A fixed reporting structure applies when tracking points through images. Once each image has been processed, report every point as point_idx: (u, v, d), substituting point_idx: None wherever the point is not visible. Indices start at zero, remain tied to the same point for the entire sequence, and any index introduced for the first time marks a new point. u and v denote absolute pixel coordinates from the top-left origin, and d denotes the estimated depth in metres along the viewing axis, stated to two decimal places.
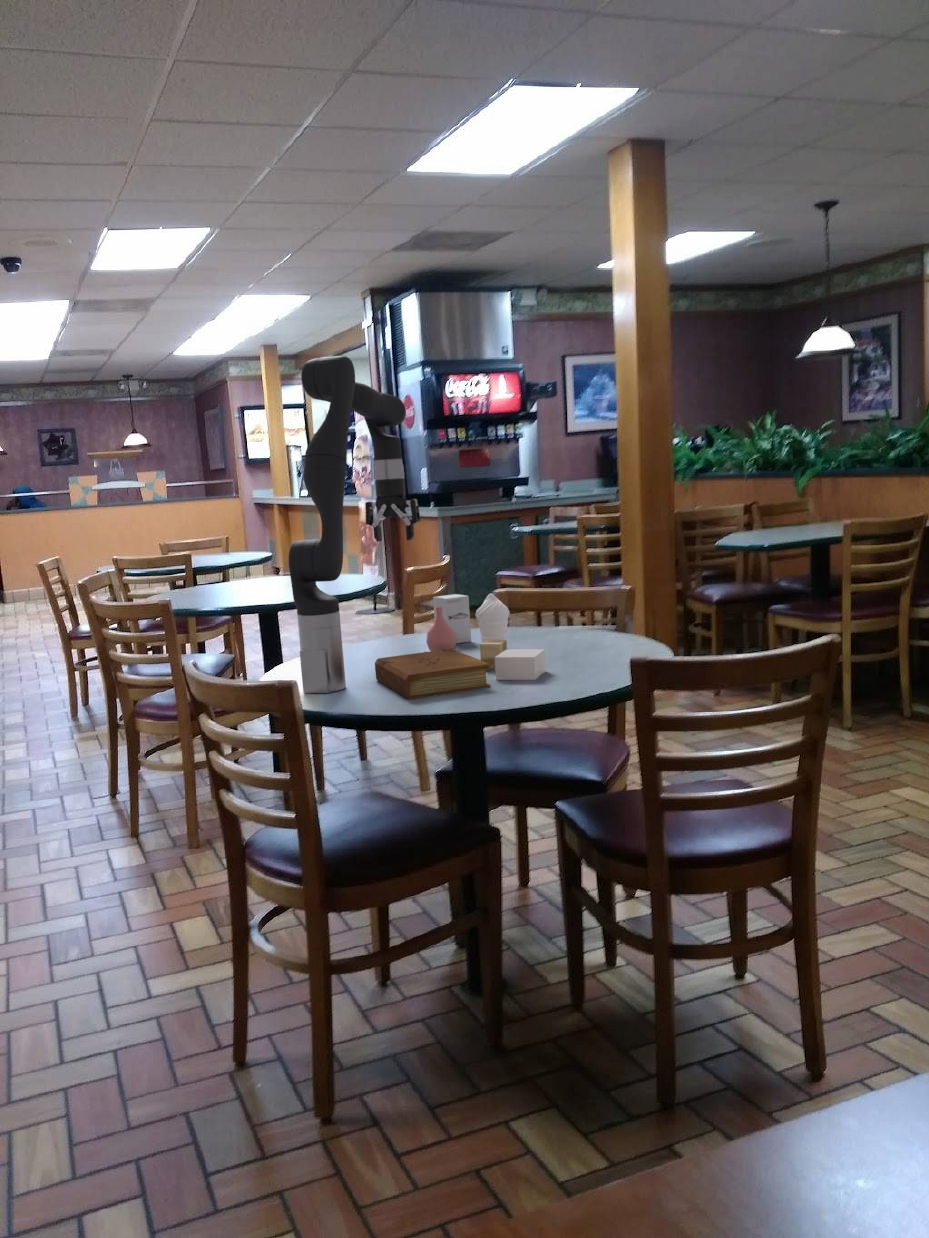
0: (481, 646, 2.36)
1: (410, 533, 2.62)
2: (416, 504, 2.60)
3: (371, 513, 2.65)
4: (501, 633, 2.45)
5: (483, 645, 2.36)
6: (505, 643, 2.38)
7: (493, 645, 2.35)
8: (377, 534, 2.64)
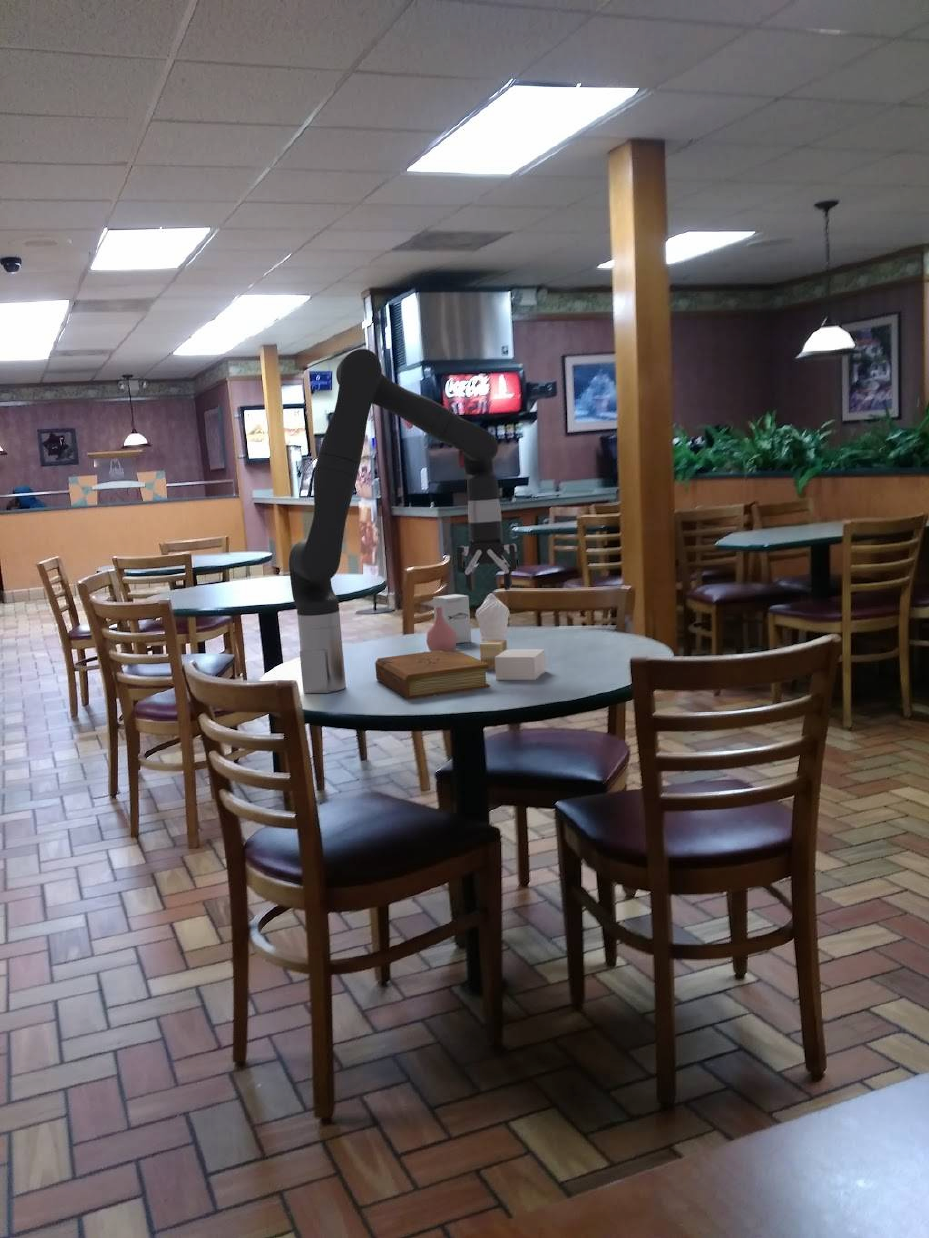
0: (481, 646, 2.36)
1: (508, 582, 2.34)
2: (515, 550, 2.32)
3: (463, 559, 2.37)
4: (501, 633, 2.45)
5: (483, 645, 2.36)
6: (505, 643, 2.38)
7: (493, 645, 2.35)
8: (470, 582, 2.36)
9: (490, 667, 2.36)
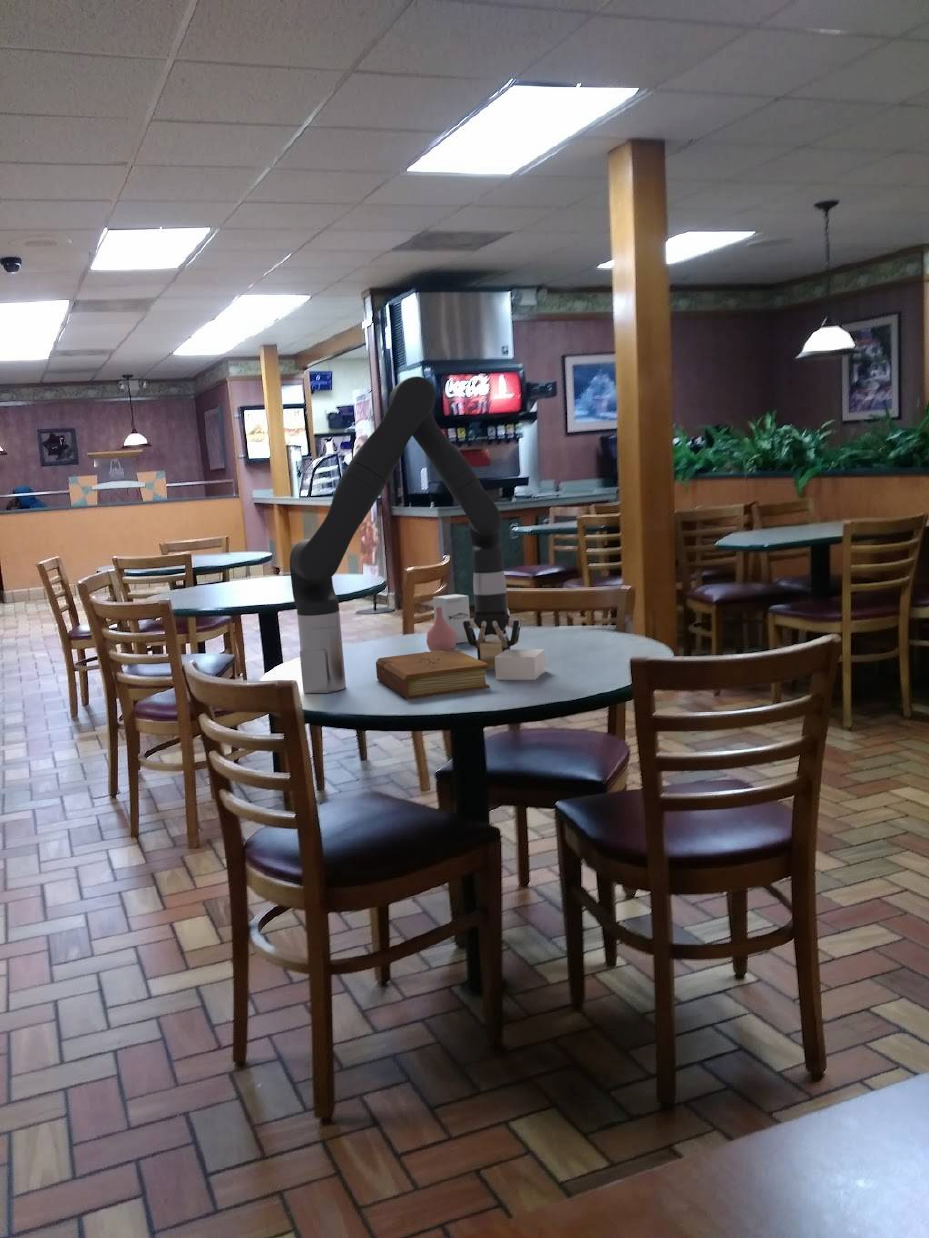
0: (481, 646, 2.36)
1: None
2: (519, 626, 2.35)
3: (472, 632, 2.39)
4: None
5: (483, 644, 2.36)
6: None
7: (493, 645, 2.35)
8: None
9: (490, 667, 2.36)
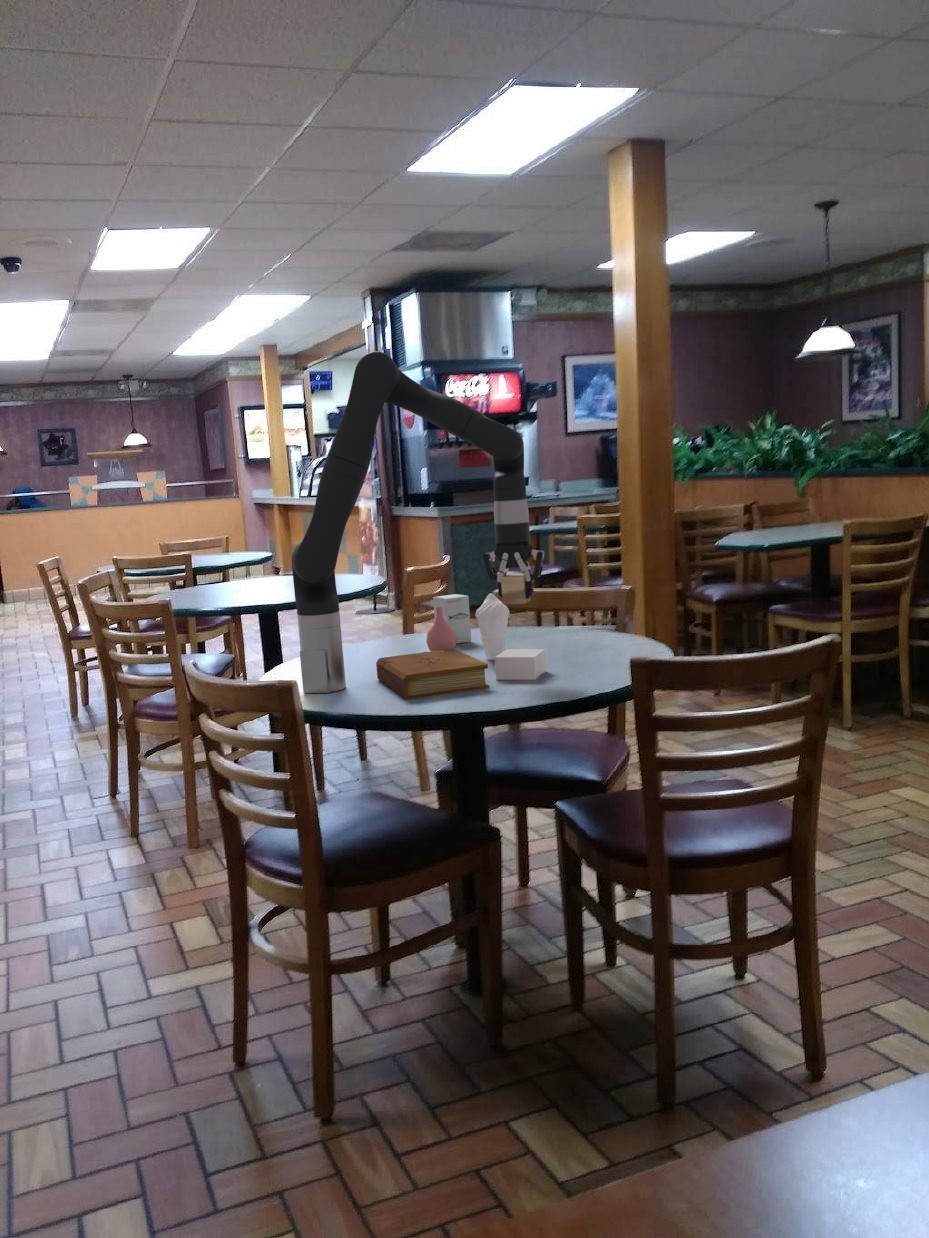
0: (502, 579, 2.23)
1: (530, 590, 2.23)
2: (542, 558, 2.21)
3: (492, 565, 2.25)
4: (501, 633, 2.45)
5: (504, 578, 2.22)
6: None
7: (515, 578, 2.22)
8: None
9: (512, 601, 2.23)
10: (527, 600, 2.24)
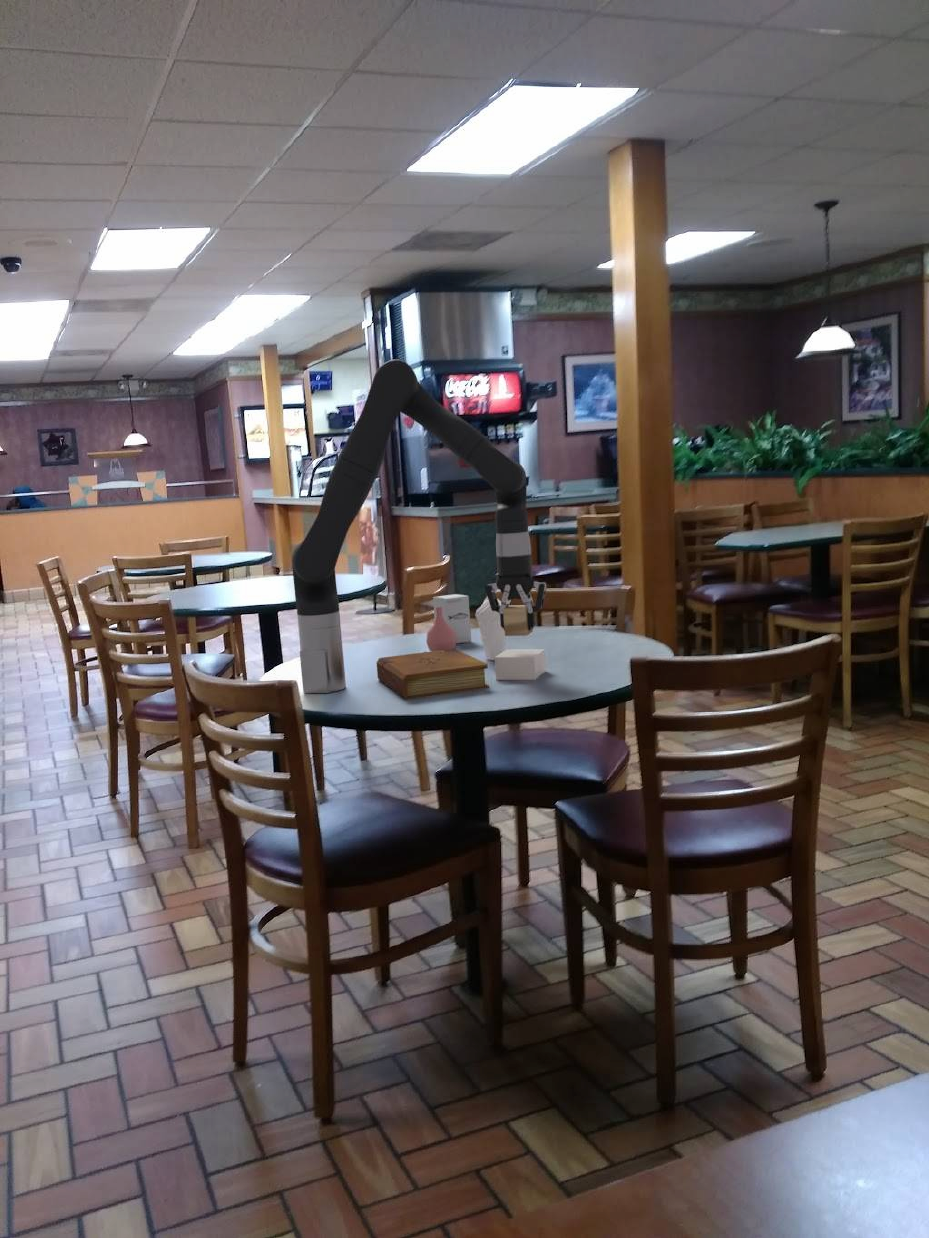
0: (504, 611, 2.23)
1: (532, 622, 2.24)
2: (544, 589, 2.22)
3: (494, 597, 2.26)
4: (501, 633, 2.45)
5: (506, 609, 2.23)
6: None
7: (517, 610, 2.23)
8: None
9: (514, 633, 2.24)
10: (529, 631, 2.25)
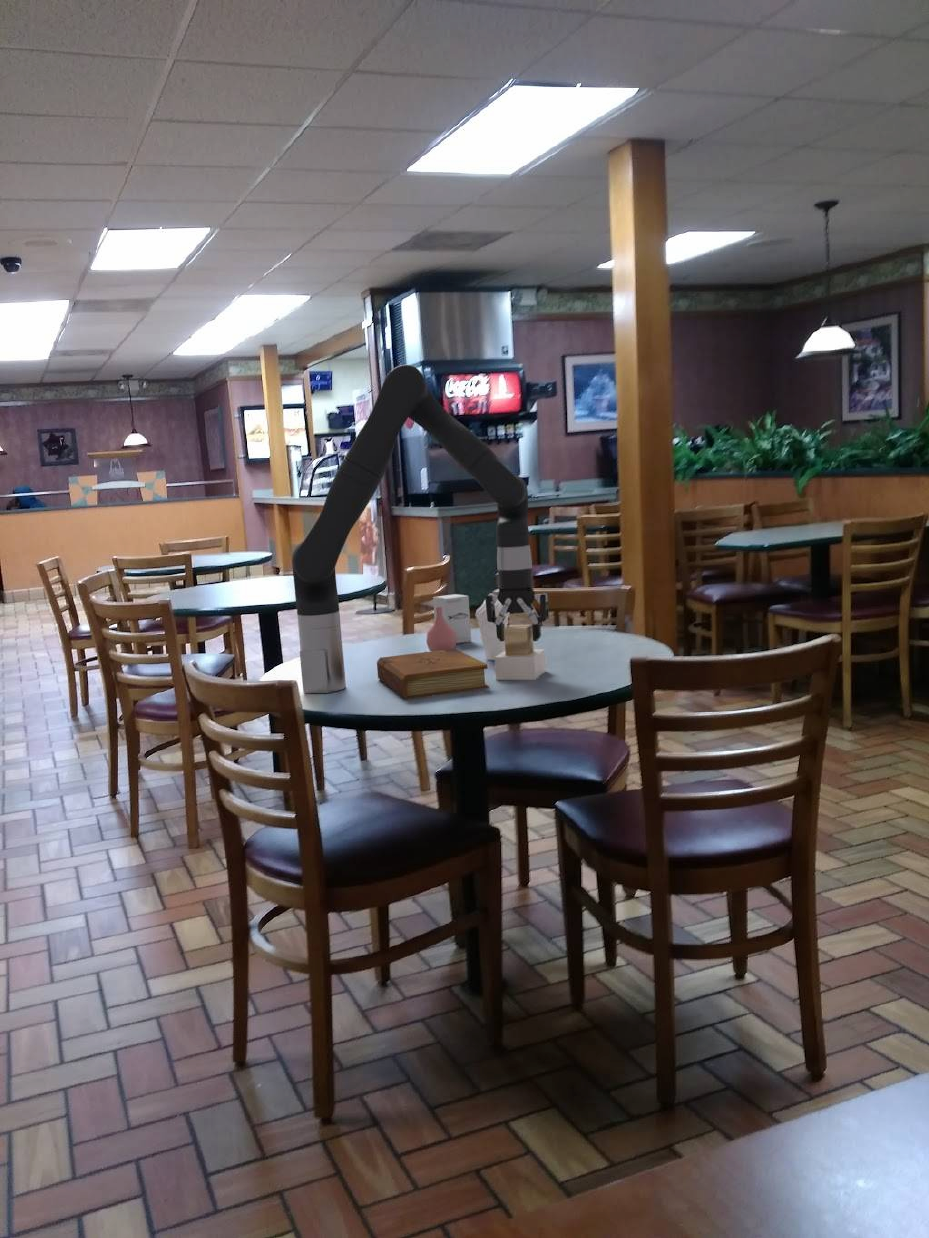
0: (505, 630, 2.24)
1: (537, 633, 2.24)
2: (546, 600, 2.22)
3: (492, 608, 2.27)
4: None
5: (507, 629, 2.24)
6: (530, 628, 2.26)
7: (518, 629, 2.23)
8: (501, 633, 2.26)
9: (515, 653, 2.24)
10: (530, 651, 2.26)
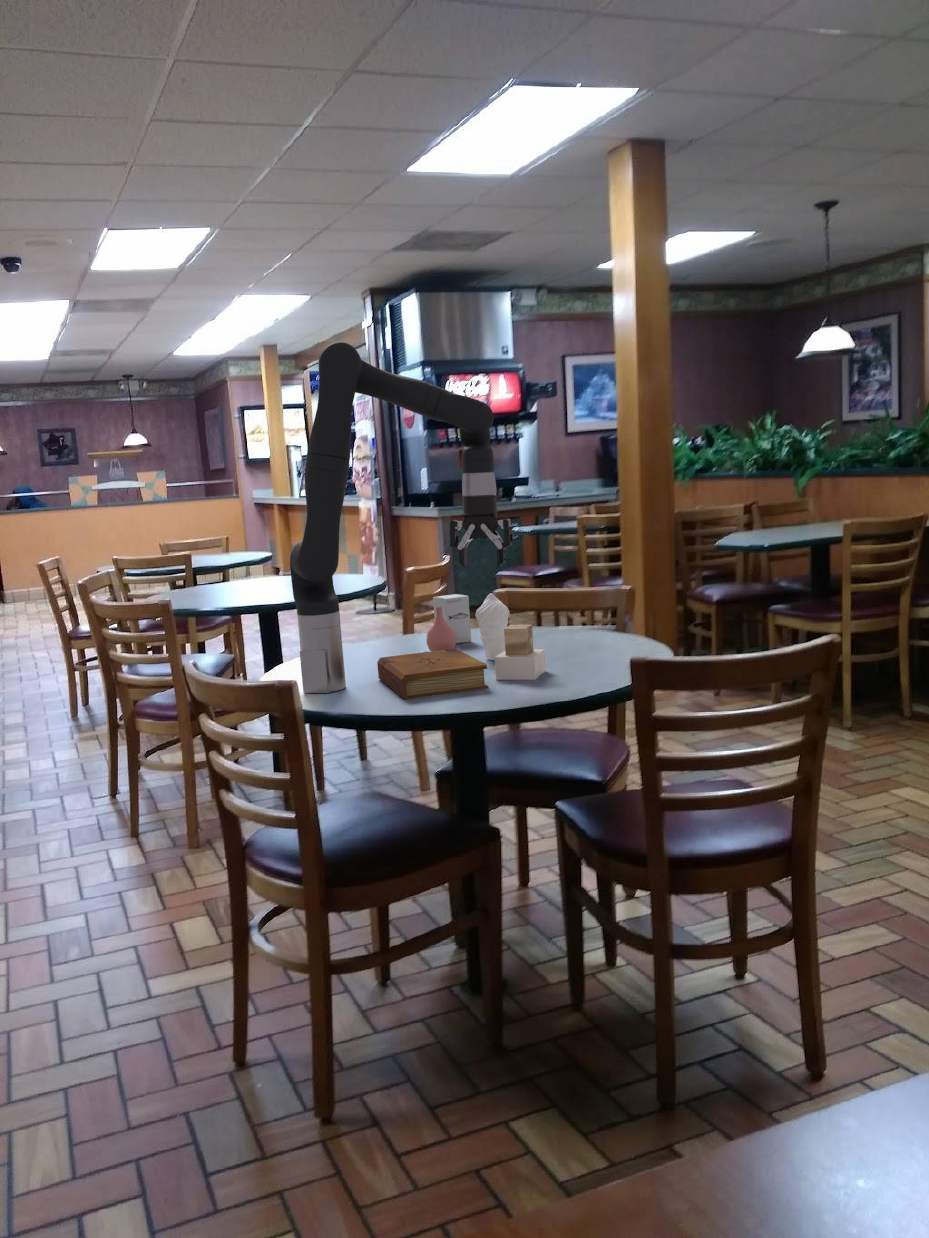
0: (505, 630, 2.24)
1: (501, 558, 2.27)
2: (509, 525, 2.26)
3: (456, 534, 2.31)
4: (501, 633, 2.45)
5: (507, 629, 2.24)
6: (530, 628, 2.26)
7: (518, 629, 2.23)
8: (463, 558, 2.30)
9: (515, 653, 2.24)
10: (530, 651, 2.26)
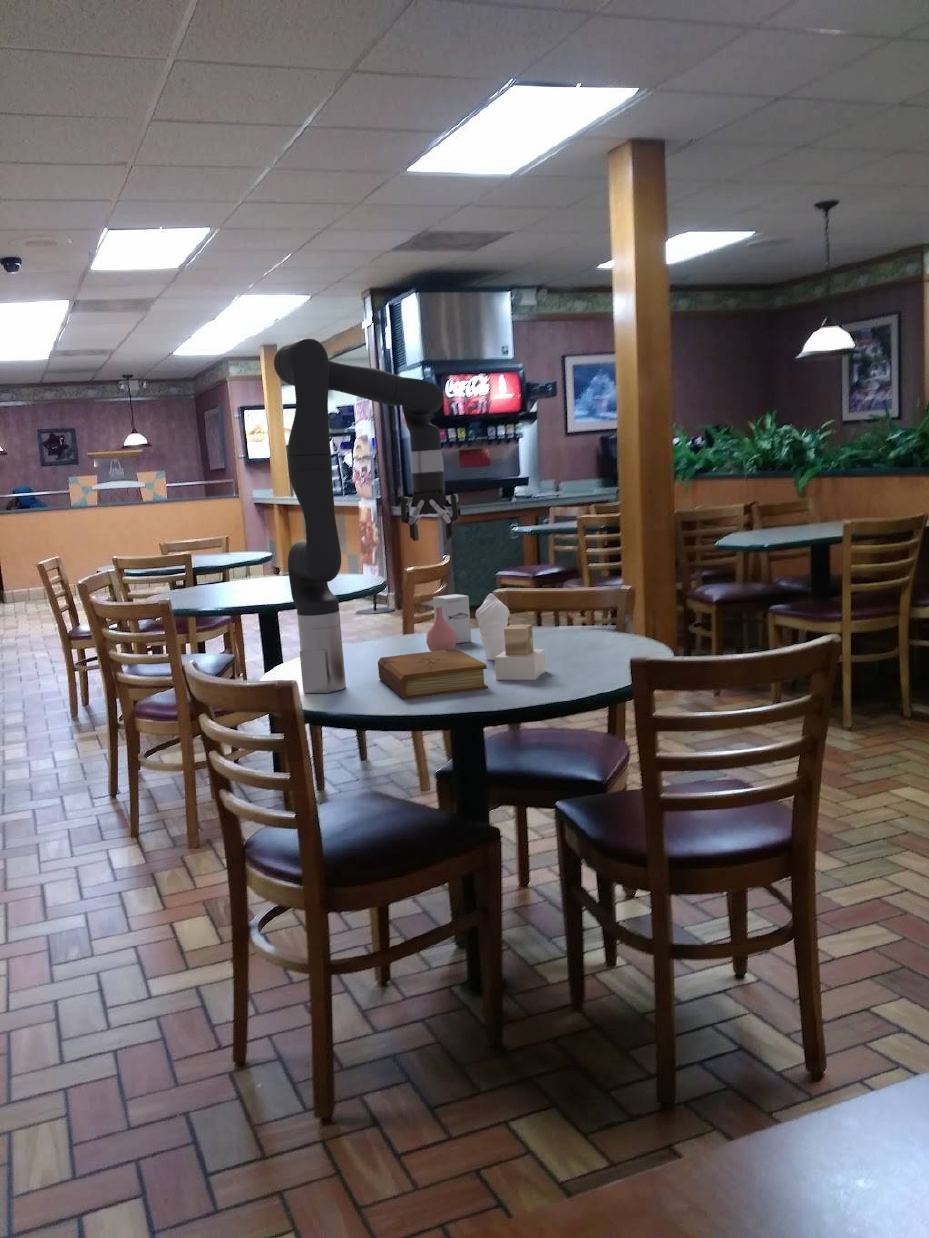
0: (505, 630, 2.24)
1: (450, 532, 2.38)
2: (457, 500, 2.37)
3: (407, 510, 2.41)
4: (501, 633, 2.45)
5: (507, 629, 2.24)
6: (530, 628, 2.26)
7: (518, 629, 2.23)
8: (413, 533, 2.41)
9: (515, 653, 2.24)
10: (530, 651, 2.26)
